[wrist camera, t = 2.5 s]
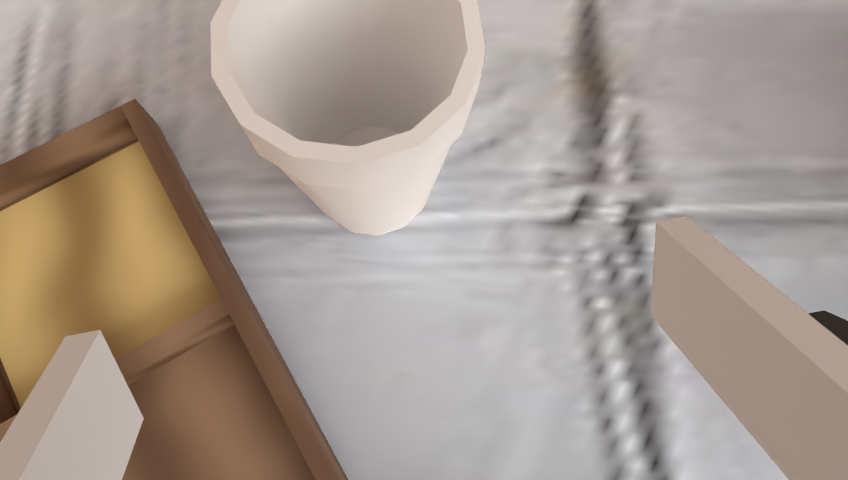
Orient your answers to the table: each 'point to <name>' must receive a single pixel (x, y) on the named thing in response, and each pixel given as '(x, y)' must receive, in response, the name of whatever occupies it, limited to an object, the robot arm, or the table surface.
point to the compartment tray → (146, 307)
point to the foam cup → (352, 95)
